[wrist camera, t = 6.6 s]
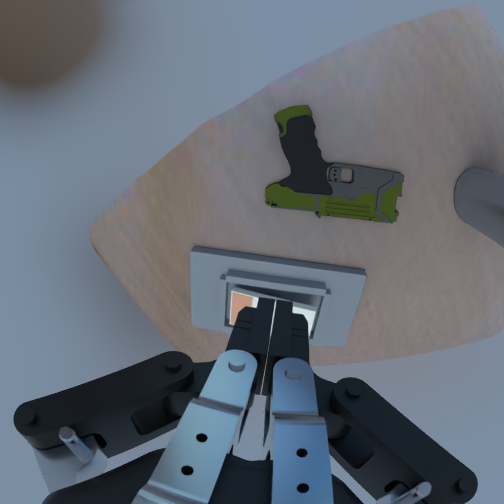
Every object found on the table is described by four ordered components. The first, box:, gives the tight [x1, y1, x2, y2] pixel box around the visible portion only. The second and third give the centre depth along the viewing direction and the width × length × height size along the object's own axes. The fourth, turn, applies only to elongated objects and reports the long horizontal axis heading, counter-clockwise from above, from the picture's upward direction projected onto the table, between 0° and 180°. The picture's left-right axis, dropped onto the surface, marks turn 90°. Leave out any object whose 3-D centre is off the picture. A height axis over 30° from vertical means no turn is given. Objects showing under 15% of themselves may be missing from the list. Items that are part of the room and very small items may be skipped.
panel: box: [190, 246, 367, 348], centre depth 41 cm, size 26×14×4 cm, turn 85°
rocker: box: [230, 287, 317, 336], centre depth 38 cm, size 12×6×1 cm, turn 86°
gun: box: [265, 105, 404, 223], centre depth 33 cm, size 2×19×15 cm
